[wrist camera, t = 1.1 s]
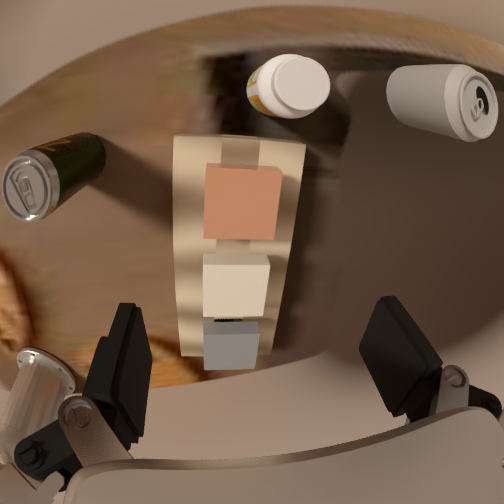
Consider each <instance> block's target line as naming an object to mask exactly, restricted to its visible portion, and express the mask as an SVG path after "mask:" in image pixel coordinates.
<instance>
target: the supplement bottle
mask: <svg viewBox="0 0 504 504" xmlns="http://www.w3.org/2000/svg"><path fill="white" fill-rule="evenodd" d="M329 91H330V80H329V77H328V74H327V72H326V71H325V69H324V68H323V67H322V66H321V65H320V64H319V63H318V62H316V61H314V60H312V59H310V58H306V57H302V56H299V55H295V54H285V55H280V56H277V57H275V58H272V59H271V60H269V61H268V62H266V63H265V64H264V65H262V66H261V67H260V68H258V69H257V70H256V71H255V72H254V73H253V74H252V75H251V77H250V79H249V81H248V84H247V96H248V99H249V101H250V103H251V104H252V105H253V107H254V108H255V109H257V110H258V111H259V112H261V113H263V114H266V115H269V116H276V117H282V118H291V119H293V118H300V117H304V116H306V115H308V114H310V113H312V112H313V111H315V110H316V109H317V108H318V107H319V106H320V105H322V104H323V103H324V101H325V100H326V99H327V97H328V95H329Z"/></svg>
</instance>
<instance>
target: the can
mask: <svg viewBox="0 0 504 504" xmlns="http://www.w3.org/2000/svg"><path fill="white" fill-rule="evenodd" d="M386 93H387V101H388V103H389V106H390V109H391V111H392V113H393V114H394V116H395V117H396V118H397V119H398V120H399V121H400V122H401V123H403V124H405V125H408V126H410V127H414V128H418V129H423V130H427V131H431V132H435V133H439V134H442V135H446V136H450V137H453V138H457V139H460V140H463V141H466V142H474V141H477V140H478V139H485V138H486V137H488V136H490V135H491V133H492V132H493V130H494V128H495V126H496V123H497V118H498V103H497V98H496V94H495V92H494V89H493V87H492V85H491V83H490V82H489V81H488V79H487V78H486V77H485V76H484V75H482V74H481V73H478V72H476V71H475V70H474V69H472V68H471V67H470V66H466V65H456V64H444V65H415V66H403V67H400V68H397V69H396V70H395V71H394V72H393V73H392V74H391V76H390V78H389V80H388V83H387V90H386Z"/></svg>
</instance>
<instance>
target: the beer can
mask: <svg viewBox="0 0 504 504" xmlns="http://www.w3.org/2000/svg"><path fill="white" fill-rule="evenodd" d="M105 158H106V155H105V149H104V146H103V144H102V142H101V141H100V140H99V139H98V138H97V137H96V136H95V135H93V134H91V133H85V132H81V133H78V134H74V135H71V136H67V137H64V138H61V139H58V140H54V141H51V142H48V143H45V144H42V145H39V146H36V147H34V148H31V149H28V150H26V151H23V152H21V153H19V154H18V155H17V156H16V157H15V158H14V159H12V160H11V161H10V162H9V163H8V164H7V166H6V168H5V170H4V172H3V175H2V180H1V193H2V197H3V201H4V203H5V205H6V207H7V209H8V211H9V212H10V213H11V214H12V215H13V216H14V217H15V218H17V219H18V220H20V221H22V222H27V223H31V222H35V221H37V220H40V219H44V218H46V217H47V216H48V215H50V214H51V213H52V212H53V211H55V210H56V209H57V208H58V207H59V206H61V205H62V204H63V203H64V202H65V201H67V200H68V199H69V198H70V197H72V196H73V195H74V194H76V193H77V192H78V191H79V190H81V189H82V188H83V187H85V186H86V185H87V184H89V183H90V182H91V181H93V180H94V179H95V178H97V177H98V176H99V174H100V173H101V172H102V170H103V167H104V165H105Z"/></svg>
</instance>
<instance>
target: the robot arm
mask: <svg viewBox="0 0 504 504" xmlns="http://www.w3.org/2000/svg"><path fill="white" fill-rule="evenodd" d="M359 352H360V354H361V356H362V358H363V360H364V362H365V364H366V366H367V368H368V370H369V372H370V374H371V376H372V378H373V380H374V382H375V385H376V387H377V388H378V391H379V393H380V395H381V397H382V399H383V401H384V403H385V406H386V408H387V410H388V411H389V412H391V413H392V415H393V417H397V416H401V415H403V414H404V413H406V415H407V419H406V422H405V425H404V426H401V427H399V428H396V429H393V430H390V431H387V432H383V433H380V434H376V435H373V436H369V437H366V438H362V439H358V440H355V441H351V442H347V443H342V444H338V445H334V446H329V447H324V448H319V449H315V450H308V451H303V452H296V453H290V454H283V455H275V456H266V457H256V458H243V459H227V460H226V459H224V460H166V459H134V458H133V457H132V456H131V454H130V453H129V452H128V450H130V447H131V443H138V439H139V437H143V434H144V425H145V415H146V406H147V397H148V389H149V382H150V375H151V368H152V354H151V350H150V346H149V342H148V338H147V334H146V329H145V325H144V320H143V316H142V311H141V308H140V307H136V304H135V303H120V304H119V306H118V309H117V312H116V315H115V317H114V320H113V323H112V326H111V329H110V332H109V335H108V337H105V336H102V337H101V338H100V340H99V342H98V345H97V348H96V351H95V354H94V357H93V360H92V363H91V367H90V370H89V373H88V376H87V380H86V383H85V387H84V390H83V394H82V396H72V397H69V398H68V399H66V400H65V401H64V397H65V395H69V394H71V393H73V392H74V390H75V387H76V381H75V378H74V376H73V374H72V373H71V372H70V370H69V369H68V368H67V367H66V366H65V365H64V364H63V363H62V362H61V361H59V360H58V359H56V358H55V357H53V356H52V355H50V354H48V353H46V352H44V351H42V350H39V349H35V348H23V349H22V350H20V352H19V353H18V356H17V363H18V366H19V368H20V371H19V373H18V375H17V377H16V380H15V382H14V384H13V387H12V389H11V392H10V394H9V397H8V399H7V402H6V405H5V407H4V410H3V413H2V416H1V418H0V454H1V457H2V459H3V461H4V465H3V464H1V463H0V504H52V503H53V501H54V500H53V497H54V496H55V495H56V494H57V492H62V491H65V490H66V492H65V496H64V501H63V504H504V409H503V410H502V406H501V403H500V401H499V399H498V398H497V397H496V396H495V395H493V394H491V393H489V392H486V391H484V390H482V389H479V388H477V387H474V386H472V385H470V384H469V378H468V376H467V374H466V372H465V371H464V370H463V369H461V368H460V367H458V366H456V365H447V366H445V367H444V368H443V369H442V367H441V365H442V364H443V362H442V360H441V359H440V357H439V356H438V354H437V353H436V351H435V350H434V348H433V347H432V345H431V344H430V343H429V341H428V340H427V338H426V337H425V336H424V334H423V333H422V331H421V330H420V328H419V327H418V326H417V324H416V323H415V322H414V321H413V319H412V318H411V316H410V315H409V313H408V312H407V311H406V310H405V308H404V307H403V306H402V304H401V303H400V302H399V300H397V298H396V297H395V296H385V297H381V298H380V300H379V301H377V303H376V306H375V308H374V311H373V313H372V316H371V318H370V321H369V323H368V326H367V328H366V331H365V333H364V335H363V338H362V340H361V342H360V345H359Z"/></svg>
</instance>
